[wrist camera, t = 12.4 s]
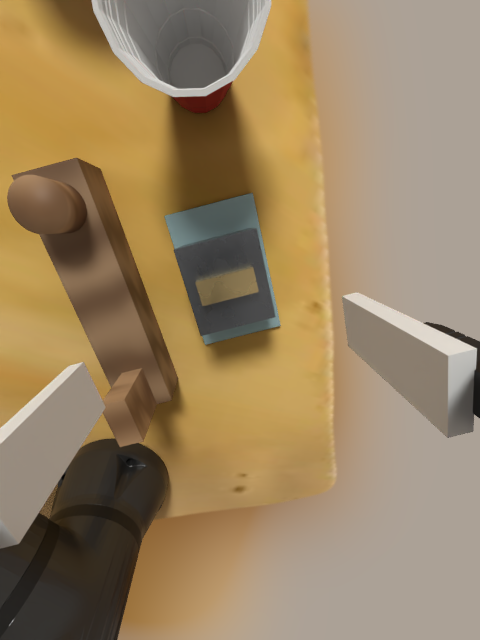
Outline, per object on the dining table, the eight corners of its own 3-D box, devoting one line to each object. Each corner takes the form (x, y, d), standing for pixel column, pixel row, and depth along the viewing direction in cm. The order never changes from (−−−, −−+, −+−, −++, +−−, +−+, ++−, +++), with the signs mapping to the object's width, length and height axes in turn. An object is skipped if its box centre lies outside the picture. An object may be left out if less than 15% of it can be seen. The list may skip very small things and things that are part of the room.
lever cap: (266, 302, 34) (277, 320, 28) (204, 317, 34) (200, 339, 28) (250, 227, 31) (258, 228, 25) (182, 245, 31) (171, 250, 25)
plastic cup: (121, 100, 27) (50, 11, 16) (173, -22, 25) (131, -234, 13) (217, 167, 30) (213, 131, 18) (273, 62, 27) (310, -56, 16)
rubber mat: (279, 324, 36) (280, 325, 35) (205, 343, 36) (205, 344, 36) (252, 193, 31) (252, 192, 30) (165, 216, 31) (164, 216, 30)
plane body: (178, 378, 37) (161, 437, 27) (135, 389, 38) (102, 451, 27) (100, 168, 29) (32, 136, 19) (45, 183, 29) (-53, 159, 19)
